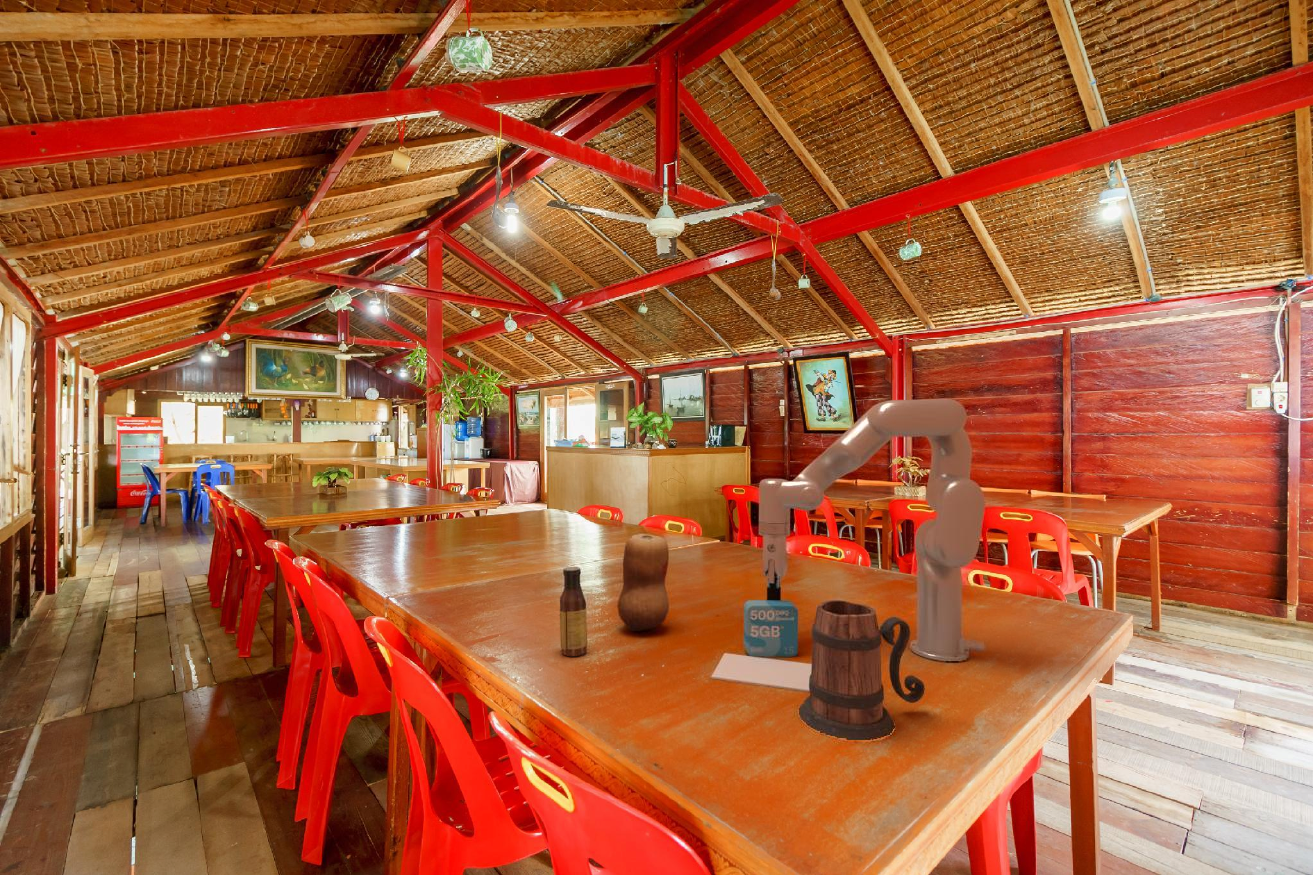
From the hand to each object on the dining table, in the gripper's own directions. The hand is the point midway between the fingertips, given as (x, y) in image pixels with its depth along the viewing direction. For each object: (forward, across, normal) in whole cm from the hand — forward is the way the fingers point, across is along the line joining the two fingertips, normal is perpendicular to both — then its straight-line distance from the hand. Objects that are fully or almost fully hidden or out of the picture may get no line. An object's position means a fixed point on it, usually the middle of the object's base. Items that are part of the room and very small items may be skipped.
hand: (773, 602), depth 141 cm
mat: (+10, -18, 0) cm, 21 cm away
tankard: (+10, -32, -20) cm, 39 cm away
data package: (+10, -7, 0) cm, 12 cm away
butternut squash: (+10, -1, +34) cm, 36 cm away
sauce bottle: (+10, -22, +44) cm, 50 cm away
